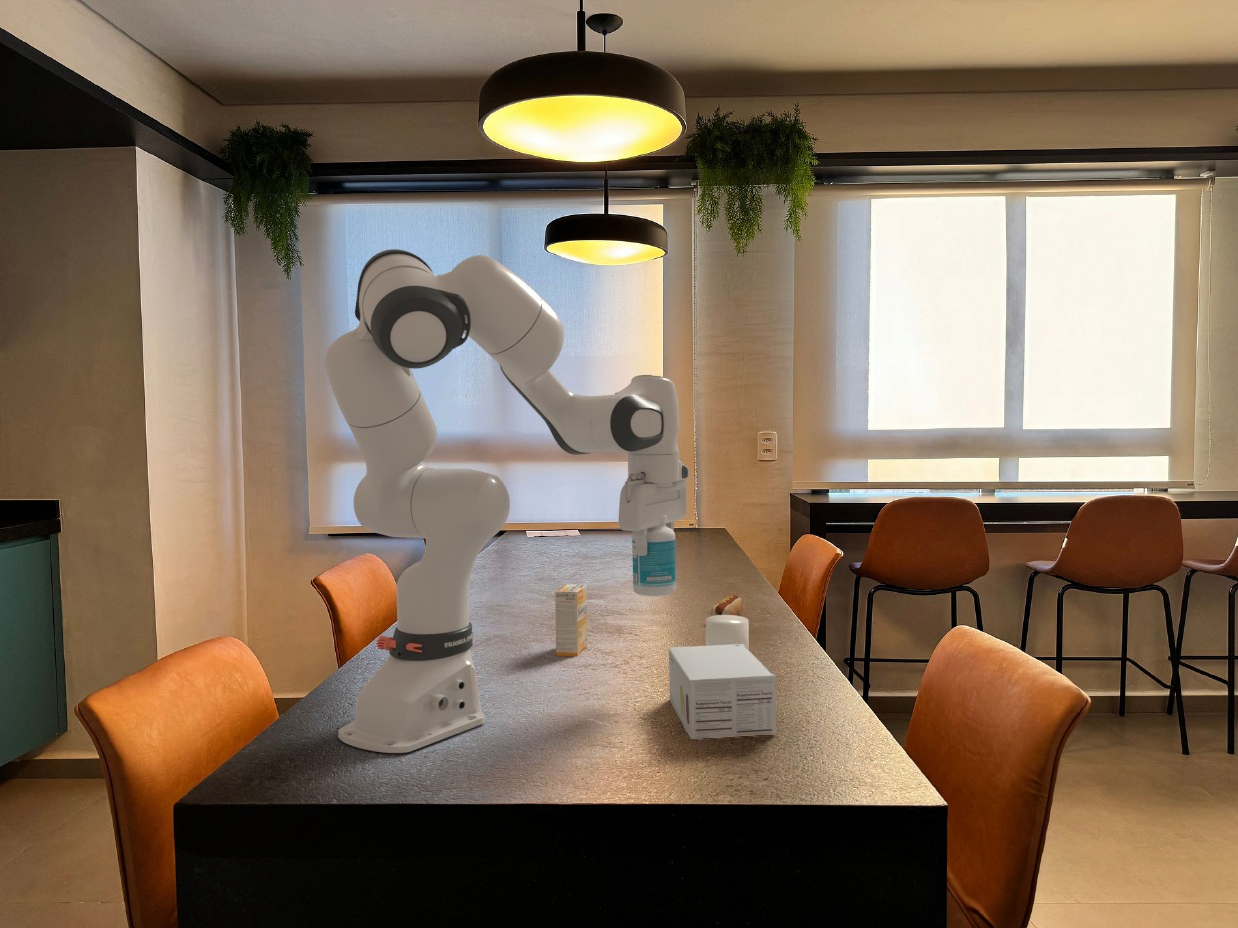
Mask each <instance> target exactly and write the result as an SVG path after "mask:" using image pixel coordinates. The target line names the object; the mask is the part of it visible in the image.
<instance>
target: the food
mask: <svg viewBox="0 0 1238 928" xmlns="http://www.w3.org/2000/svg"><path fill="white" fill-rule="evenodd" d="M743 604H744V603H743V600H742V598H741V597H738V595H736V594H733V595H732V594H729V596H727V597H725V598H724V599H722V600H721V601H719V602H717V604H715V605H714V606H712V607H711V609H710V616H715V615H735V616H740V614H741V612H742V609H743V606H744V605H743Z"/></svg>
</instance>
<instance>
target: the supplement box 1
mask: <svg viewBox="0 0 1238 928" xmlns="http://www.w3.org/2000/svg"><path fill="white" fill-rule="evenodd" d="M554 594H555V595H554V596H555V597H554V598H555V656H557V657H578V656H579V655H580V654H581V653H582V652H583V650H584V649H585V648H587V646H588V601H587V599H588V585H587V584H577V583H575V584H572V583H571V584H564V586H562V587H560V588H558V589H557V590H556V591H555V593H554Z"/></svg>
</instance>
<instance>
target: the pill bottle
mask: <svg viewBox="0 0 1238 928" xmlns="http://www.w3.org/2000/svg"><path fill="white" fill-rule="evenodd" d="M666 522H667V515H664V516H661V522H660V525H659V526H655V527H652V528H648V529H647V535H646V539H647V544H650V549H649V551H650V553H649V554H648V555H645V556H639V555H637V553H636V543H635V541H634V538H633V535H631V537H632V538H631V539H632V540H631V542H632V543H631V545H632V549H631V551H632V552H631V553H632V588H633V592H634V593H635V594H637V595H639V596H645V597H664V596H669V595H672V594H674V593H675V592H676V590H677V572H676V571H677V570H676V569H677V568H676V567H677V565H676V562H677V561H676V560H677V559H676V533H675V531H674V530H672V529H670V528H668V527H666V525H665V524H666Z"/></svg>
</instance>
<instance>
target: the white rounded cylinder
mask: <svg viewBox="0 0 1238 928" xmlns="http://www.w3.org/2000/svg"><path fill="white" fill-rule="evenodd" d="M749 625H750V624H749V619H748V618H747V617H745V616H740V615H738V616H735V615H715V616H711V615H710V616H708V617H706V619H705V646H712V645H731V644H744V645H745V646H746V648H747V649H748V650H749V651H750V648H749V647H750V644H749V639H750V637H749V633H750V632H749V627H750V626H749Z"/></svg>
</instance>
